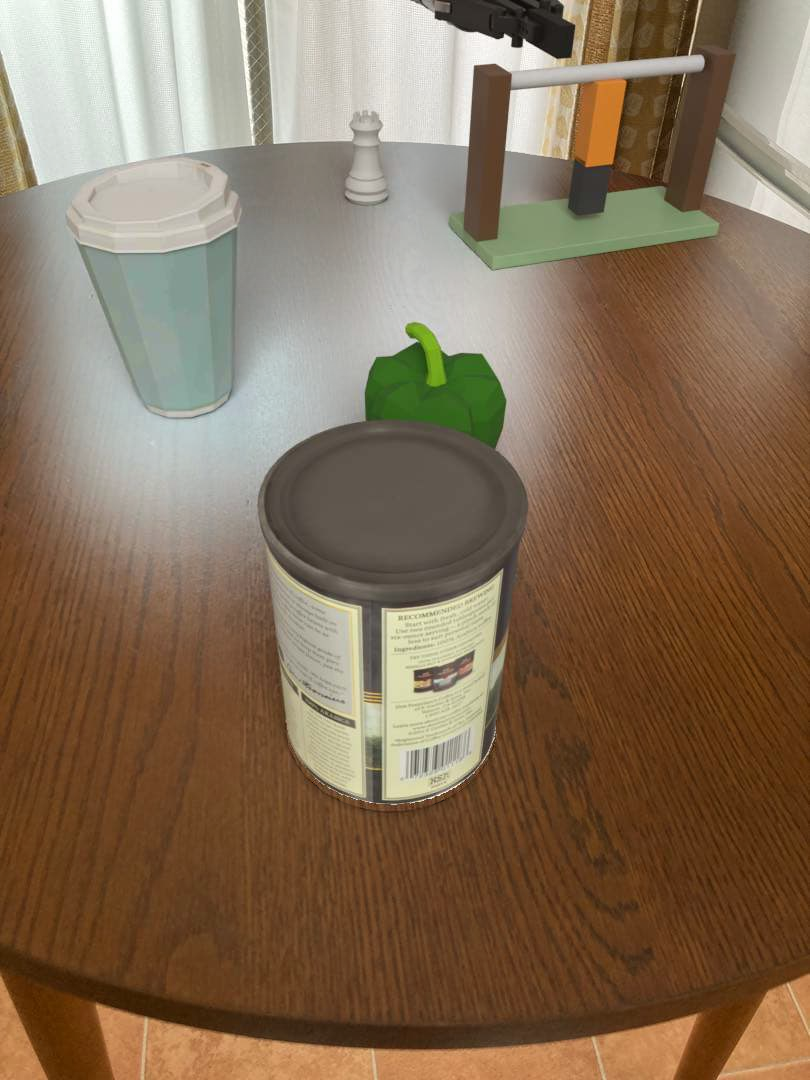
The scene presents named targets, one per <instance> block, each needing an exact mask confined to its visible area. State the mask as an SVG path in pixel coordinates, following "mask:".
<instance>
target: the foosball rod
mask: <svg viewBox="0 0 810 1080" xmlns="http://www.w3.org/2000/svg"><path fill="white" fill-rule="evenodd" d="M704 63H705V61H704V57H703V56H702V55H694V54H691V55H679V56H670V57H669V56H668V57H657V58H645V59H637V60H636V59H635V60H626V61H625V60H624V61H623V60H622V61H612V62H603V63H590V64H578V65H567V66H557V67H546V68H536V69H535V68H534V69H523V70H522V69H521V70H511V71H509V72H510V73H511V74H512V80H511V91H519V90H529V89H540V88H550V87H560V86H571V85H581V84H583V86H582V87H583V88H582V95H581V101H580V109H579V116H578V123H577V130H576V137H575V143H574V144H575V145H574V151H573V167H572V174H571V181H570V188H569V196H568V198H569V202H568V209H570V210H571V211H572V212H573V213H575V214H576V215H577V216H581V215H588V214H595V213H603V212H604V208H605V202H606V196H607V193H608V189H609V184H610V183H609V182H610V176H611V171H612V165H613V164H614V160H615V155H616V154H615V153H616V147H617V142H618V136H619V129H620V123H621V118H622V111H623V106H624V99H625V94H626V87H627V80H635V79H644V78H645V79H646V78H654V77H663V76H664V77H665V76H675V75H676V76H677V75H686V74H687V75H688V74H691V73H698V72H701V71H702V70H703V68H704Z"/></svg>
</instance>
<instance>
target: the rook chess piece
mask: <svg viewBox="0 0 810 1080" xmlns="http://www.w3.org/2000/svg"><path fill="white" fill-rule="evenodd" d="M368 112H369V110H368V109H367V110H365V109H364V110H362V115H361V112H360V111H359V110H357V111H354V113H352V119H351V121H350V122H349V124H348V126H349V128H350V129H351V131H352V132H353V137H352V139H351V144H352V145H353V156H352V166H351V169H350V171H349V172H348V173H349V175H348V176H347V178H346V179H345V182H344V185H345V188H346V190H345V191H344V196H345V197H346V199H347V200H348V201H349V202H351V203H352V204H356V205H360V206H375V205H379V204H381V203H383V202H385V200H386V199H387V198H388V196H389V194H390V193H389V191H388V189H387V188H388V186H389V184H388V180H387V178H386V177H385V176H384V173H385V172H384V171H383V170H382V166H381V160H380V154H379V151H380V150H379V148H380V147H379V145H380V144H381V142H382V141H381V139H380V138H379V133H380V132H381V130H382V129H383V127H384V125H383V122H382V121H381V119H380V113H377V111H375V110H371V111H370V115H369V113H368Z"/></svg>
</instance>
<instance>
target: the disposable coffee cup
mask: <svg viewBox="0 0 810 1080" xmlns="http://www.w3.org/2000/svg"><path fill="white" fill-rule="evenodd" d="M242 212H243V208H242V207H241V201H240V196H239V194H238V193H236V192H235V191H234V190H232V189H231V187H230V179H229V175H228V174H227V173H226V172H225V171H223V170H221V168H219V167H218V166H216V165H215V164H212V163H210V162H207V161H204V160H198V159H194V158H190V157H189V158H188V157H183V156H178V157H166V158H156V159H155V158H154V159H145V160H140V161H138V162H133V163H131V164H127V165H123V166H119V167H116V168H113V169H109V170H107V171H104V172H103V173H102V174H100V175H98V176H96V177H93V179H91V180H89V181H87V182H85V183H84V184H82V185H81V186H80V187H79V189H78V191H77V192H76V194H75V196H74V198H73V199H72V201H71V203H70V205H69V207H68V208H67V210H66V211H65V213H64V214H65V219H66V227H65V228H66V229H67V231H68V232H69V233H70V234H71V236H72V237H73V238H74V242H75V244H76V245H77V249H78V251H79V254H80V256H81V258H82V261H83V263H84V266H85V268H86V270H87V273H88V276H89V279H90V281H91V284H92V286H93V289H94V291H95V294H96V296H97V299H98V301H99V303H100V306H101V310H102V312H103V314H104V317H105V318H106V321H107V323H108V326H109V329H110V332H111V334H112V336H113V339H114V341H115V344H116V346H117V349H118V351H119V354H120V356H121V359H122V362H123V364H124V367H125V369H126V372H127V375H128V378H129V379H130V381H131V385H132V387H133V389H134V392H135V393H136V395H137V396H138V398H140V400H141V402H142V403H143V404H144V406H146V408H147V409H148V411H149V412H151V413H153V414H157V415H159V416H162V417H165V418H168V419H169V418H171V419H172V418H194V417H197V416H201V415H204V414H207V413H211V412H214V411H216V410H217V409H218V408H219V407H221V406H222V405H223V404H224V403H226V402H227V401H228V400H229V397H230V392H231V391H232V387H233V383H234V379H235V350H236V349H235V346H236V344H235V343H236V341H235V340H236V304H237V303H236V301H237V266H238V265H237V261H238V260H237V259H238V225H239V222H240V219H241V215H242Z"/></svg>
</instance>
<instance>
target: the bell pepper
mask: <svg viewBox="0 0 810 1080" xmlns="http://www.w3.org/2000/svg"><path fill="white" fill-rule="evenodd" d="M404 331H405V334H406V335H407V336H408V338H409V339H413V340H414V339H415V340H416V342H413V343H412V344H410V345H409V346H407V347H405V348H403V349H402V350H400V351H398V352H396V353H395V354H393V355H386V356H385V355H383V356H376V357H375V359H374V361H373V363H372V365H371V367H370V369H369V371H368V376H367V379H366V385H365V389H364V415H365V416H364V417H365V421H371V420H413V421H422V422H428V423H433V424H438V425H442V426H446V427H449V428H452V429H455V430H457V431H461V432H464V433H466V434H468V435H470V436H473V437H475V438H477V439H479V440H481V441H483V442H484V443H486V444H488V445H489V446H491V447H492V448H493V449H495V450H496V448H497V446H498V443H499V440H500V438H501V435H502V432H503V429H504V425H505V424H504V423H505V415H506V408H507V398H506V395H505V392H504V390H503V387H502V384H501V381H500V380H499V378H498V376H497V374H496V373H495V372H494V370H493V368H492V366H491V365H490V364H489V362H488V360H487V359H486V357H485V356H484V354H483V353H479V352H477V353H476V352H459V353H454V354H451V355H448V354H447V353H446V352H444V351H443V350H442V347H441V345H440V343H439V341H438V339H437V337H436V335H435V333H434V332H433V331H432V330H431V329H429V328H428V327H427V326H426V325H425V324H423V323H421V322H417V321H413V322H408V323H407V324H406V325H405V327H404Z"/></svg>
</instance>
